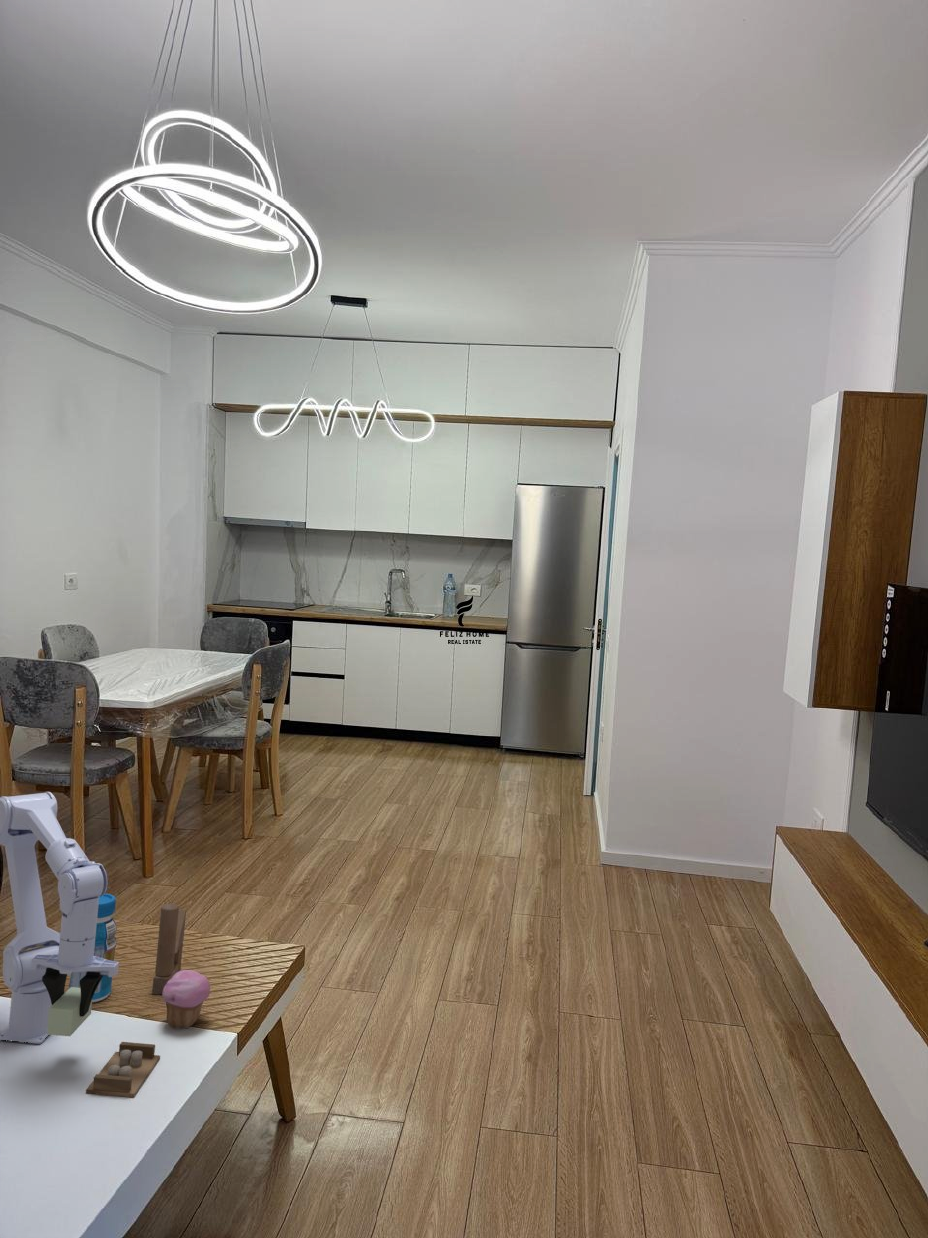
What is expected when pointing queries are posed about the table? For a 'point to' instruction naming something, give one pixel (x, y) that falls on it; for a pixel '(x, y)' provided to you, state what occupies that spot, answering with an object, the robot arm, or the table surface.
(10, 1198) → the table surface
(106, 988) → the beverage bottle
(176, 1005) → the cupcake
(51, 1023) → the pale green block
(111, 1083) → the peg frame
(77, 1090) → the table surface
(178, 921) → the wooden block
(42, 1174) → the table surface
